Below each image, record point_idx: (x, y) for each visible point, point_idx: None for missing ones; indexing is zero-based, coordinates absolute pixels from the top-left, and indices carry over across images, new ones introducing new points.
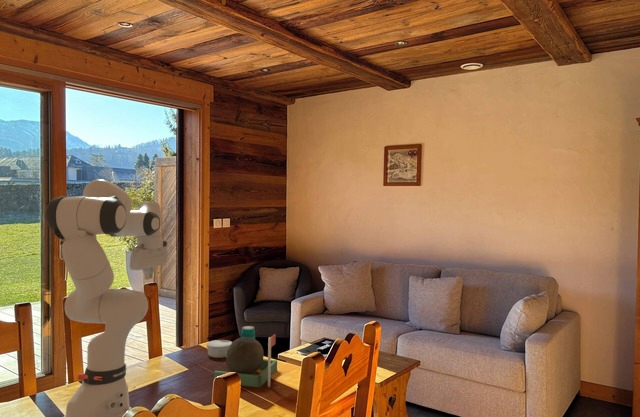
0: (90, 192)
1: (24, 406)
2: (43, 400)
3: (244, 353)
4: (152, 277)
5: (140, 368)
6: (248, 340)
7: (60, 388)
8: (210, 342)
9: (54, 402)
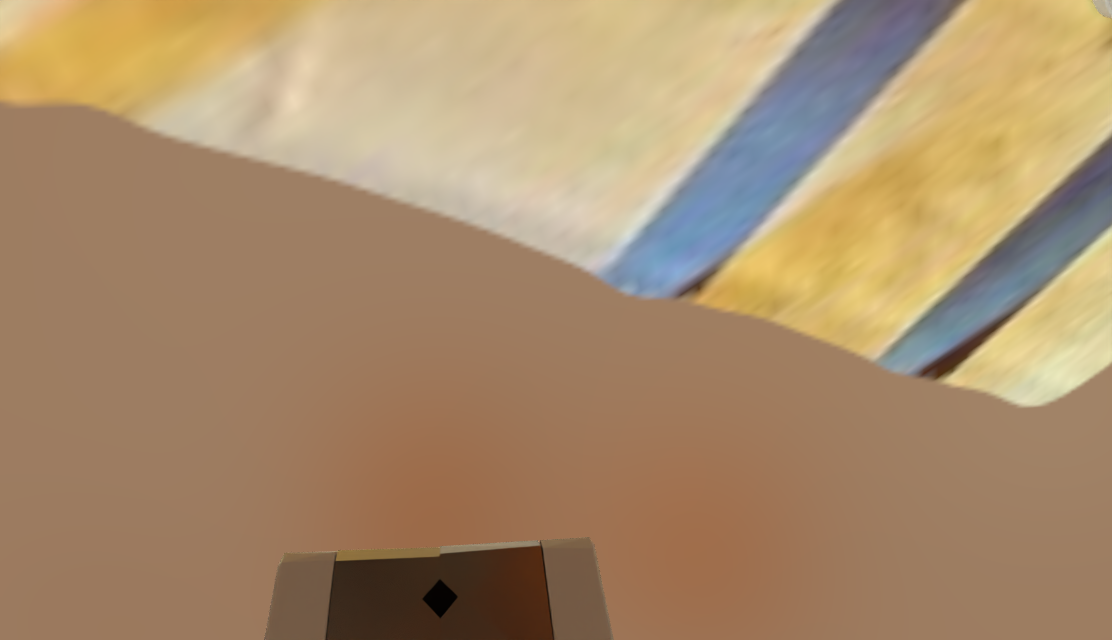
0: None
1: (1081, 310)
2: (1001, 282)
3: None
4: (303, 570)
5: (319, 71)
6: None
7: (818, 323)
8: None
9: (1033, 208)
